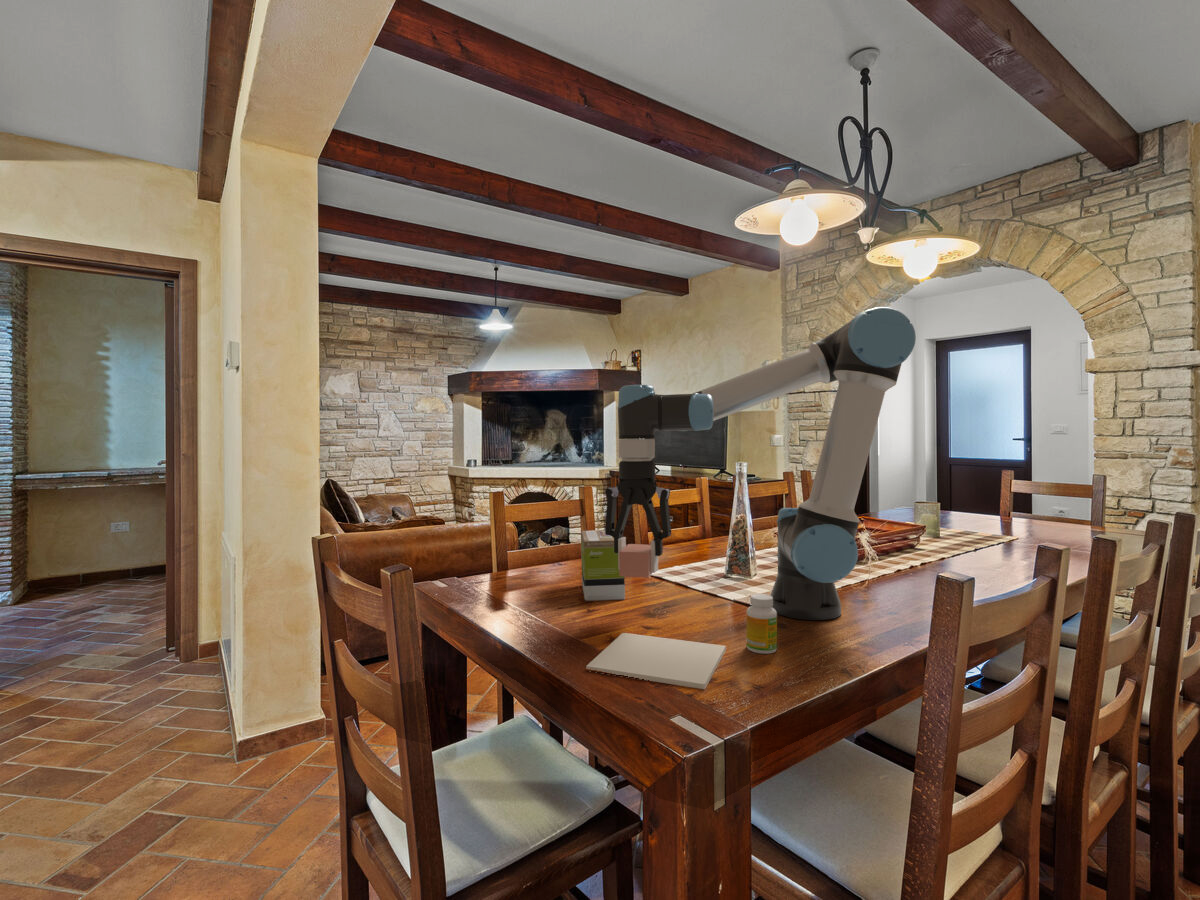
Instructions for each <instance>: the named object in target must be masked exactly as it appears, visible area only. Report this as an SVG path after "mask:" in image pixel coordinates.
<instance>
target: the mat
mask: <svg viewBox="0 0 1200 900" xmlns="http://www.w3.org/2000/svg"><path fill="white" fill-rule="evenodd" d="M726 651H727V646H726V645H723V644H722V645H721V644H713V643H708V642H707V643H706V642H698V641H692V640H691V641H689V640H684V639H683V640H682V639H675V638H667V637H666V638H665V637H661V636H659V637H658V636H651V635H645V634H635V633H629V632H622V633H621V634H619V636H618V637H616V638H615V639H614V640H613V641H611V643H610V644H609V645H608V646H607V647H605V648H604V649H603V650H602V651H601V652H600V653H599V654H597V656H596V657H595V658H593V660H591V661H590V662H589V663H588V664H587V665H586V669H591V670H597V671H602V672H607V673H612V674H616V675H624V676H628V677H627V678H629V677H634V678H633V679H635V678H639V679H638V680H642V679H644V680H643V681H648V680H649V681H650V682H655V683H660V684H662V683H663V684H669V685H674V686H680V687H687V688H694V689H700V690H706V688H707V687H708V685H709V682H710V681H711V679H712V677H713V675H714V673H715V671H716V670H717V667H718V666H719V664H720V662H721V660H722V658H723V657H724V654H725V653H726ZM616 675H615V676H616Z"/></svg>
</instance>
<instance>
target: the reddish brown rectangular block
mask: <svg viewBox="0 0 1200 900" xmlns="http://www.w3.org/2000/svg"><path fill="white" fill-rule="evenodd" d="M652 574H653V573H651V544H643V543H642V544H638V543H637V544H636V543H628V544H626V547H624V548H623V549H622V550H621V551H620V552H619V576H625V578H626V577H629V578H630V577H631V578H644V579H645V578H646V579H649V578H650V577H651V576H652Z"/></svg>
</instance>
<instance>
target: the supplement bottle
mask: <svg viewBox="0 0 1200 900" xmlns="http://www.w3.org/2000/svg"><path fill="white" fill-rule="evenodd" d="M750 604H751V606H748V608H747V609H746V648H747V649H748V651H751V652H752V653H756V654H763V655H764V654H765V655H766V654H767V655H768V654H769V655H770V654H773V653H776V651H777V649H778V614H777V612H776V610H775V609H774V608H772V606H773V597H772V596H770V595H769V594H764V593H754V594H751V595H750Z"/></svg>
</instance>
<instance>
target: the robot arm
mask: <svg viewBox="0 0 1200 900" xmlns="http://www.w3.org/2000/svg"><path fill="white" fill-rule="evenodd" d="M916 338H917V337H916V331H915V327H914V325H913V323H912V322H911V320H910V319H909V318H908V316H907V315H906V314H904V313H903V312H901V311H900V310H898V309H895V308H892V307H887V306H878V307H877V306H876V307H873V308H869V309H866V310H864V311H862V312H860V313H858V314H857V315H856V316H855V317H854V318H853V319H851V320H850V321H848V322H847V323H845V324H844V325H842V326H841V327H840V328H838V329H837V330H835V331H834V332H832V333H830V334H828V335H827V336H825V337H823V338H820V339H818V340H816V341H812V342H811V343H810V345H809V346H808V348H807V349H805V350H802V351H800V352H798V353H795V354H792V355H789V356H787V357H785V358H782V359H779V360H777V361H774V362H772V363H769V364H766V365H764V366H761V367H759V368H756V369H753V370H750V371H748V372H746V373H743V374H740V375H738V376H734V377H733V378H730V379H727V380H725V381H722V382H720V383H717V384H714V385H711V386H709V387H706V388H704V389H702V390H699V391H695V392H693V393H679V394H678V393H677V394H675V393H674V394H657V393H656V392H655V388H654V386H653V385H651V384H629V385H623V386H622V387H620V388H619V390H618V399H617V400H618V401H617V403H618V404H617V405H618V406H617V417H618V418H617V420H618V458H619V459H621V460H620V461H619V462H618V479H619V481H618V484H617V486H615V487H608V488H606V489H605V490H604V491H605V496H606V514H605V529H604V530H605V533H606V535H610V536H612V537H613V538H614V552H615V553H618V570H619V552H620V551H621V550H622V549H623V548H624V547H626V546H627V541H626V540H627V537H626V536H624V531H625V527H626V525H627V520H628V518H629V515H630V512H631V508H632V506H633V505H639V506H642V508H643V510H644V513H645V515H646V518H647V521H648V523H649V527H650V531H651V532H652V536H653V539H651V540H650V545H651V573H652V574H653V573H657V571H659V557H660V556H662V555H663V544H664V543H663V540H664V539H667V538H669V537H671V536H672V526H671V516H670V515H671V514H670V506H669V505H670V504H669V503H670V502H669V499H670V494H671V490H670V488H663V487H659V486H658V484H657V482H656V462H655V461H654V460H653V459H654V458H655V457H656V455H655V454H656V436H655V434H656V433H655V432H656V431H657V432H662V431H663V432H664V431H665V432H668V431H669V432H670V431H671V432H673V431H678V432H682V433H685V432H689V431H695V432H699V431H708V430H711V429H712V427H713V424H714V422H715V421H716V420H720V419H723V418H725V417H728V416H730V415H733V414H736V413H739V412H742V411H745V410H747V409H749V408H752V407H754V406H757V405H761V404H763V403H766V402H769V401H772V400H773V399H776V398H779V397H782V396H786V395H788V394H790V393H792V392H795V391H798V390H800V389H803V388H806V387H809V386H811V385H814V384H817V383H823V384H826V385H828V384H830V383H833V382H836V381H837V382H838V386H837V391H836V394H835V398H834V401H833V405H832V410H831V413H830V416H829V421H828V426H827V429H826V432H825V436H824V441H823V443H822V448H821V451H820V455H819V459H818V463H817V466H816V471H815V475H814V478H813V483H812V486H811V489H810V493H809V497H808V499H807V500H804V501H803V502H802V503H799V505H798V507H784V508H783V507H782V508H780V509H779V510H778V514H777V520H776V523H777V575H776V578H775V581H774V584H773V587H772V590H771V593H770V595H769V596H772V597H773V606H772V608H774V609H775V610H776V612H777V615H780V616H783V617H787V618H792V619H797V620H806V621H807V620H808V621H825V620H827V621H828V620H833V619H837V618H839V617H840V616H841V615H842V603H841V600H840V597H839V593H838V590H837V586H836V585H835V583H836V582H838V581H841V580H843V579H844V578H846V577H847V576H849V575H850V574H851V572H853V570H854V569H855V567H856V565H857V562H858V560H859V559H858V558H859V550H858V545H857V541H856V536H857V533H858V530H859V529H858V528H859V525H860V522H861V520H860V519H859V516H857V513H856V512H855V506H856V503H857V499H858V495H859V492H860V489H861V485H862V480H863V477H864V473H865V470H866V466H867V462H868V458H869V455H870V454H869V453H870V450H871V447H872V443H873V439H874V436H875V432H876V428H877V426H878V425H877V424H878V420H879V417H880V413H881V409H882V406H883V402H884V398H885V393H886V392H887V391H888V390H889V389H892V388H893V387H895V386H896V385H897V383H898V378H899V375H900V372H901V367H902V363H905V361H906V360H907V359H908V358H909V356H910V355H911V353H912V352H913V350H914V348H915V344H916ZM619 494H620V495H621V497H622V499H623V501H622V503H621V506H620V507H621V509H620V512H619V515H618V519H617V521H616V515H617V512H616V511H617V498H618V496H619ZM655 494H657V498H658V499H659V511H660V512H659V513H660V520H661V521H660V523H661V526H660V523H659V519H658V516H657V513H656V511H655V507H654V502H653V500H652V498H653V497H654V496H655Z"/></svg>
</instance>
